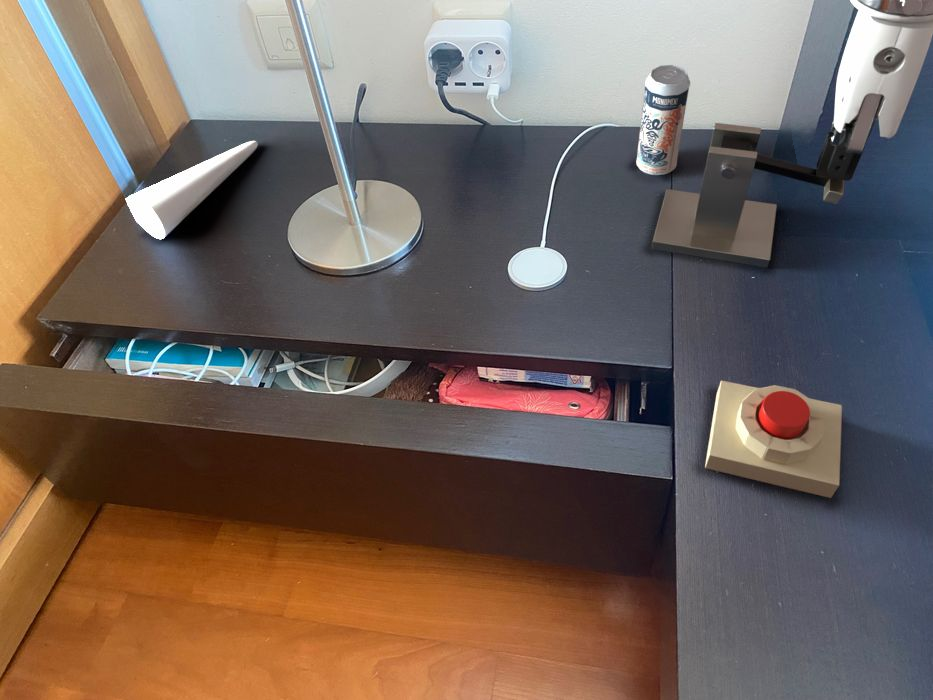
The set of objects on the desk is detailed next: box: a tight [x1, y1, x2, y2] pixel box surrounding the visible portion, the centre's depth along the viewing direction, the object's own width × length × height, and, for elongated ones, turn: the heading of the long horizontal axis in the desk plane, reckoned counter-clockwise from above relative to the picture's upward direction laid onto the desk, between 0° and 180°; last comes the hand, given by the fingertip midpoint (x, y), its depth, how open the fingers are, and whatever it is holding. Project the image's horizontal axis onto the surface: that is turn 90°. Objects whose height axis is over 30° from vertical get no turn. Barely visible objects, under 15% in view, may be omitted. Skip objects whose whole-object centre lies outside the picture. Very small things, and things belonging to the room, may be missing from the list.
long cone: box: [125, 140, 259, 240], centre depth 90 cm, size 6×6×19 cm
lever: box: [718, 136, 845, 205], centre depth 71 cm, size 12×5×2 cm, turn 71°
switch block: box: [704, 380, 843, 499], centre depth 61 cm, size 10×8×4 cm
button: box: [758, 391, 810, 439], centre depth 59 cm, size 4×4×2 cm
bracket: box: [651, 122, 778, 269], centre depth 75 cm, size 12×9×12 cm
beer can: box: [635, 64, 691, 176], centre depth 83 cm, size 5×5×12 cm
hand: (833, 173), depth 70 cm, fingers closed
